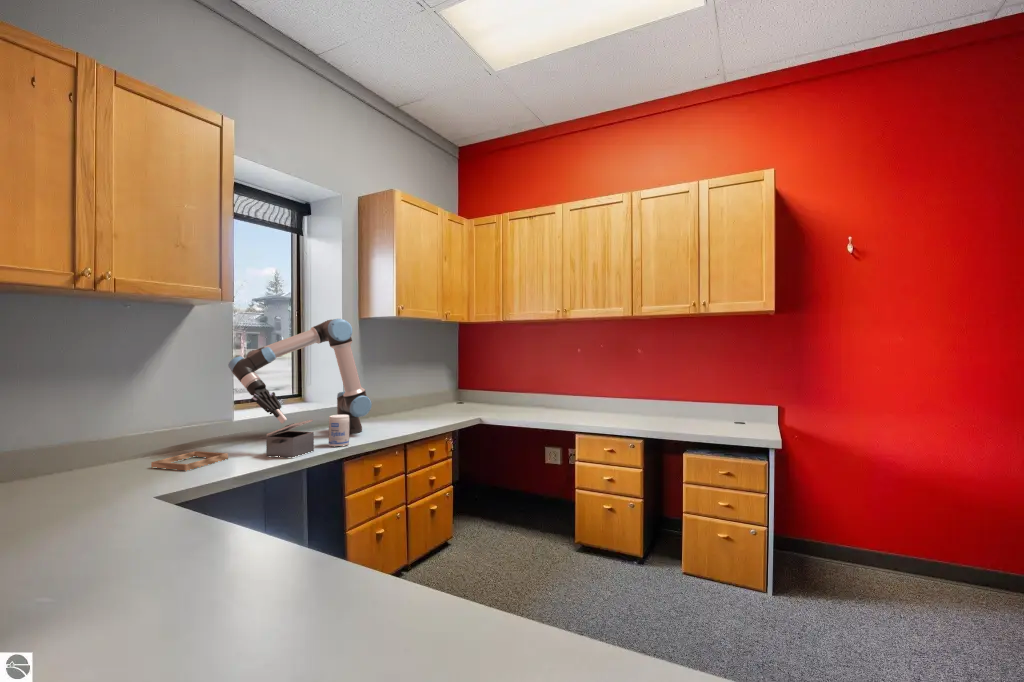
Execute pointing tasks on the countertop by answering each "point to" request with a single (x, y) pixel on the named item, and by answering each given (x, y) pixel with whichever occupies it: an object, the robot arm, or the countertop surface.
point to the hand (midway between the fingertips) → (284, 421)
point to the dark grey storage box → (289, 443)
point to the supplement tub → (338, 430)
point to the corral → (210, 459)
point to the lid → (289, 427)
